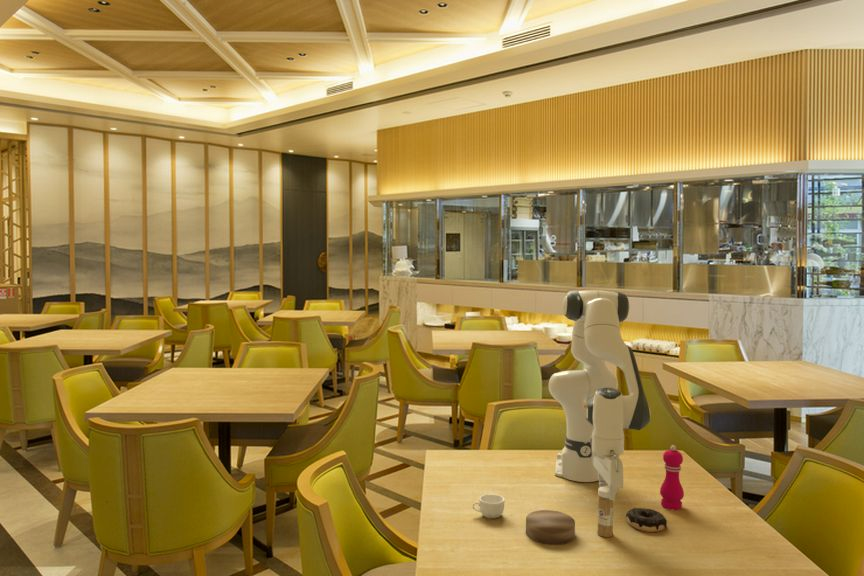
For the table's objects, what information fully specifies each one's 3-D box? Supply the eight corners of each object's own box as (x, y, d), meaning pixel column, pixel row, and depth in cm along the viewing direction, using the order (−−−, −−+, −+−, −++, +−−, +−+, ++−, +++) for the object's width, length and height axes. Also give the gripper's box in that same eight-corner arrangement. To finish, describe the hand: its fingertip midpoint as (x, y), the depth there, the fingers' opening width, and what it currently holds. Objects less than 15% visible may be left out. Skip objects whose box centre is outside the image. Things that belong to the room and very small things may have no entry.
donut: (647, 536, 183) (647, 523, 182) (617, 521, 193) (617, 508, 193) (674, 529, 188) (674, 516, 188) (644, 514, 198) (644, 502, 198)
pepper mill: (685, 511, 200) (687, 449, 199) (661, 509, 202) (663, 448, 200) (681, 502, 207) (683, 442, 206) (658, 500, 209) (659, 441, 208)
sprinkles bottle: (594, 534, 183) (595, 489, 183) (601, 529, 187) (602, 484, 186) (609, 539, 180) (610, 493, 180) (616, 533, 184) (617, 488, 183)
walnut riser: (522, 522, 191) (522, 509, 191) (569, 523, 191) (569, 510, 190) (529, 544, 177) (529, 530, 177) (579, 544, 177) (579, 530, 176)
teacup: (500, 510, 200) (501, 493, 200) (507, 520, 193) (507, 502, 192) (469, 511, 199) (470, 494, 199) (474, 521, 191) (475, 504, 191)
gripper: (629, 456, 172) (628, 507, 172) (609, 436, 192) (608, 480, 193) (606, 456, 172) (605, 506, 172) (588, 435, 192) (587, 480, 193)
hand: (606, 492), depth 183 cm, fingers open, 8 cm apart
